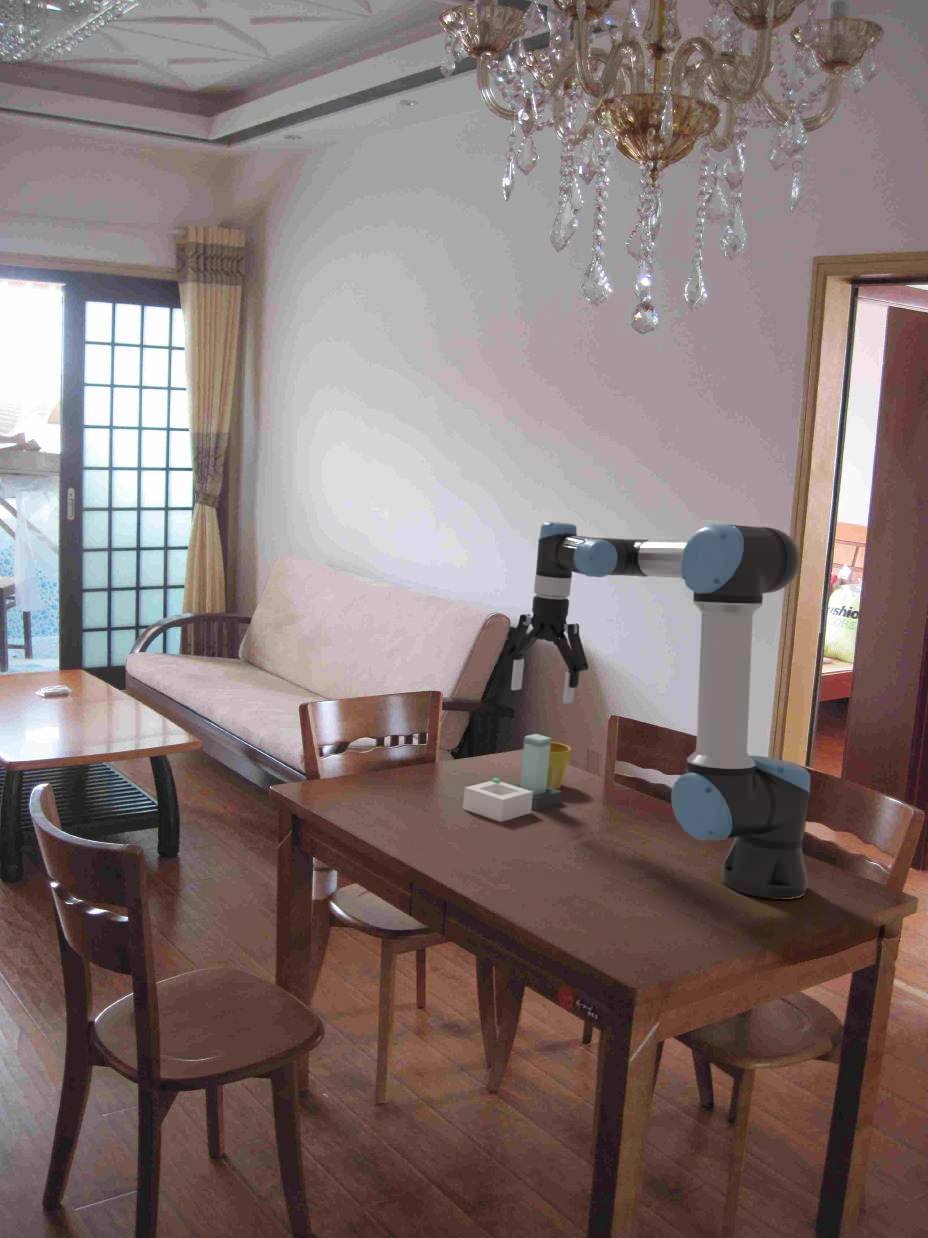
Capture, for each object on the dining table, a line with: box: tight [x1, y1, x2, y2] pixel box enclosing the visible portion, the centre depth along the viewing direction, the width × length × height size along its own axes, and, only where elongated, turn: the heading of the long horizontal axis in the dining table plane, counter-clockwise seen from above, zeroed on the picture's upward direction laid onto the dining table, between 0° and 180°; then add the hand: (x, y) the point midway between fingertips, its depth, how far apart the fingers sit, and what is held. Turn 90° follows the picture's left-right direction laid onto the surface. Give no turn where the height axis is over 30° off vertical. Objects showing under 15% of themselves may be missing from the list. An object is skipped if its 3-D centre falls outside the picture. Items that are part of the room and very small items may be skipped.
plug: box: [519, 733, 552, 795], centre depth 245 cm, size 4×4×14 cm
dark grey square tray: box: [512, 783, 563, 811], centre depth 246 cm, size 9×9×3 cm
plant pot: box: [546, 741, 572, 790], centre depth 259 cm, size 10×10×10 cm
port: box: [462, 777, 533, 822], centre depth 236 cm, size 10×10×6 cm
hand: (541, 696), depth 243 cm, fingers open, 13 cm apart
